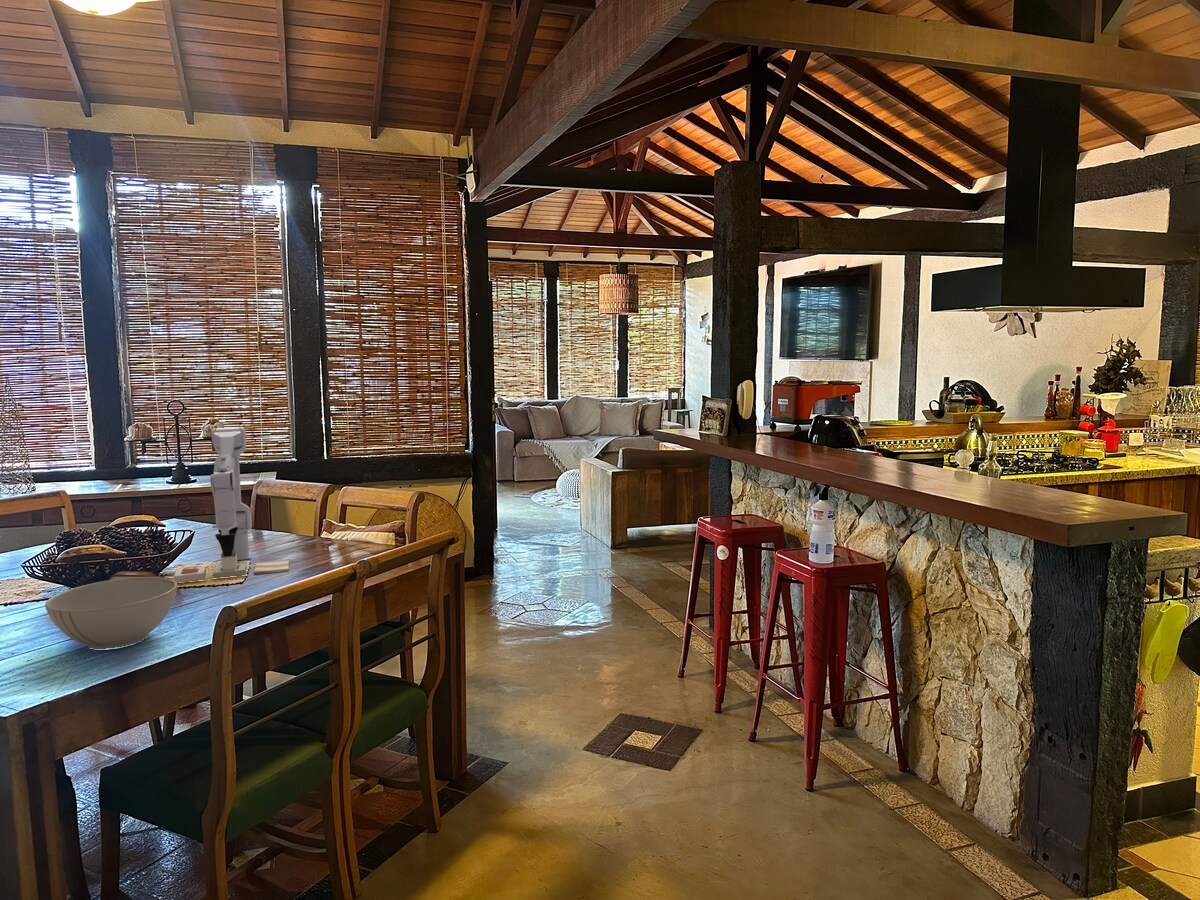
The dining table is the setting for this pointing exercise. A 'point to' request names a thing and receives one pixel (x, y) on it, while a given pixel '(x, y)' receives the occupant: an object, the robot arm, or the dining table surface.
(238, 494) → the robot arm
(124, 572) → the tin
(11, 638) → the dining table surface
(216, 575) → the socket
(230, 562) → the cartridge
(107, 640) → the decorative bowl
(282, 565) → the birch board
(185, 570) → the plunger button
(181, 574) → the plunger housing
